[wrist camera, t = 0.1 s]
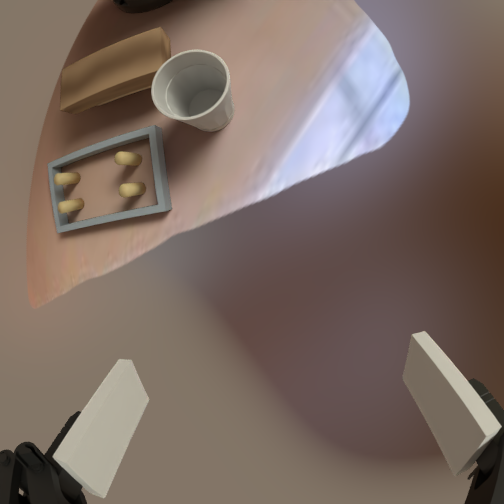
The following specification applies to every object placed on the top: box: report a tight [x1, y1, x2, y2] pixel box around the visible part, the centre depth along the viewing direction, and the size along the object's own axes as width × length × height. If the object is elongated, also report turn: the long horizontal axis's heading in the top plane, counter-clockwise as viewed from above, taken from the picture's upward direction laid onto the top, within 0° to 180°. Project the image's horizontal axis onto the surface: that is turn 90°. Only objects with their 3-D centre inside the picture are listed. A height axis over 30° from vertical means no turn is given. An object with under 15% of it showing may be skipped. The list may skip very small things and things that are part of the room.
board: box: [60, 27, 171, 114], centre depth 27 cm, size 7×16×4 cm, turn 97°
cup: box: [151, 50, 234, 132], centre depth 28 cm, size 8×8×12 cm
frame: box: [48, 125, 172, 233], centre depth 34 cm, size 12×21×5 cm, turn 97°
